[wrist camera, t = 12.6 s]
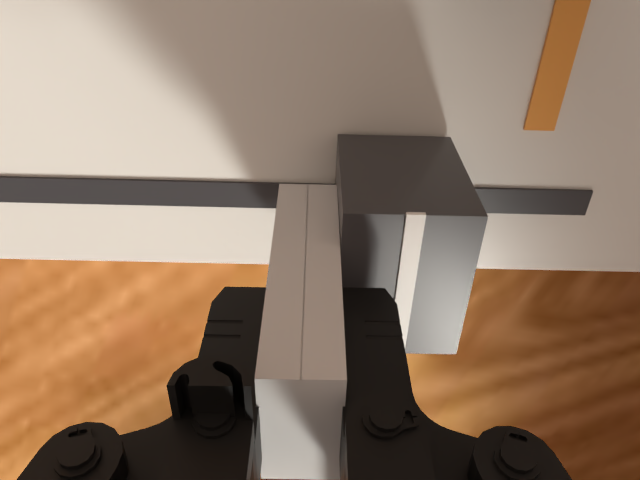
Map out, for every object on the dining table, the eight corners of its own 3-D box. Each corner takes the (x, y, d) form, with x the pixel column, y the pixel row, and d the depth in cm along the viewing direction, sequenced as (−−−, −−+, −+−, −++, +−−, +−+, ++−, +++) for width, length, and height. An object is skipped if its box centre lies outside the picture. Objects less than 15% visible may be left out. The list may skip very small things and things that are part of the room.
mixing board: (958, -328, 11) (1072, -361, 10) (686, 237, 19) (722, 275, 18) (-337, -379, 11) (-459, -423, 9) (-73, 221, 19) (-113, 258, 17)
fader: (450, 135, 15) (489, 216, 11) (429, 259, 17) (456, 357, 14) (337, 132, 15) (343, 213, 11) (331, 257, 17) (334, 355, 14)
